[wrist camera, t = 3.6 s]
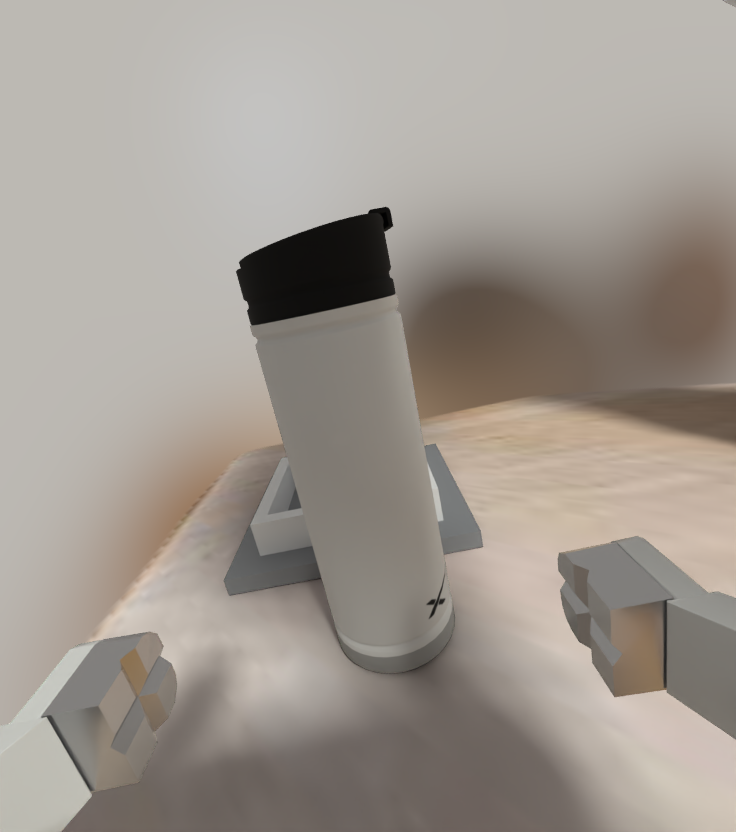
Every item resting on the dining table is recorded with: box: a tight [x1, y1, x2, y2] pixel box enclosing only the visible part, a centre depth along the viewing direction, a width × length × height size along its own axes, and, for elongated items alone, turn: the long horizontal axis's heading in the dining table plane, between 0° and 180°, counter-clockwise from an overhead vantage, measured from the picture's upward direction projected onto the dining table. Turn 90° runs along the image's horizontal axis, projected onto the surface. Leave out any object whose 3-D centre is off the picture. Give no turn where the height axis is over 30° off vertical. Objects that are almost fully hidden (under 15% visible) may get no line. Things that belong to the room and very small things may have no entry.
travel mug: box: [236, 207, 455, 673], centre depth 19 cm, size 6×7×20 cm
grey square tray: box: [224, 444, 483, 595], centre depth 34 cm, size 17×16×4 cm
